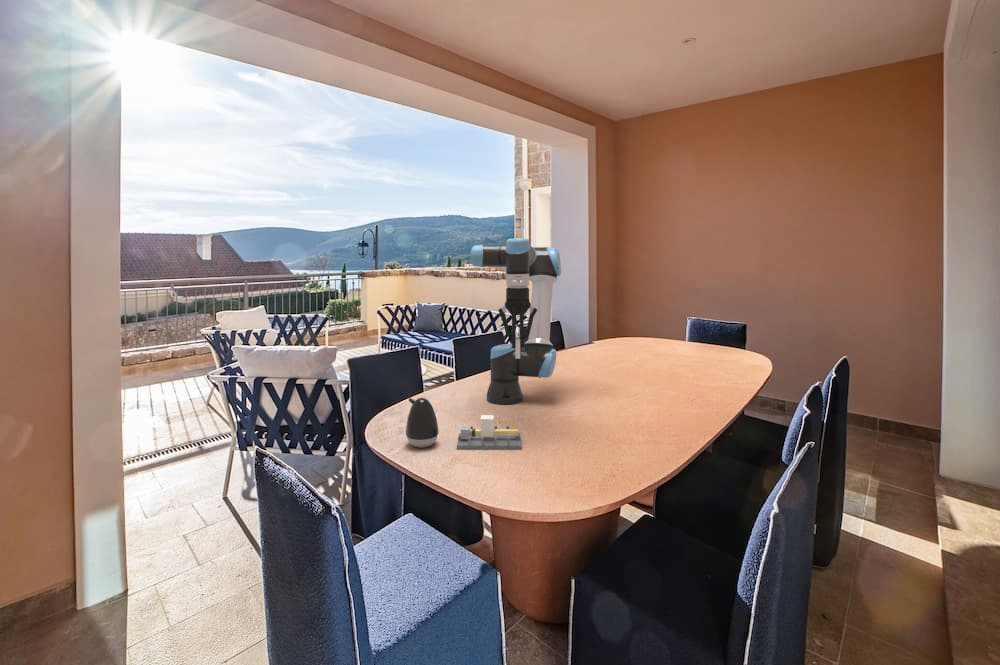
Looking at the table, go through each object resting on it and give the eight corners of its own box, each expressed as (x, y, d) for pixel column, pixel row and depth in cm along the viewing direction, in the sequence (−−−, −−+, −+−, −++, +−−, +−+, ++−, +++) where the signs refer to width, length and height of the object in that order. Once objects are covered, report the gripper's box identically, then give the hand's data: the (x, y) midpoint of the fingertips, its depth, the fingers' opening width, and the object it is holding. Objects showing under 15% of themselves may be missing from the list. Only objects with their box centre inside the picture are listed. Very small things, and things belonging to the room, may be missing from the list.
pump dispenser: (421, 436, 161) (420, 391, 159) (445, 443, 155) (444, 396, 153) (398, 446, 153) (397, 399, 150) (423, 453, 147) (422, 404, 145)
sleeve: (480, 436, 153) (480, 419, 152) (481, 432, 157) (481, 415, 156) (493, 436, 153) (493, 419, 152) (493, 432, 157) (493, 415, 156)
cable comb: (456, 449, 150) (456, 434, 149) (459, 436, 161) (459, 422, 160) (521, 449, 150) (521, 434, 149) (520, 436, 161) (520, 422, 160)
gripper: (497, 288, 154) (498, 360, 158) (538, 287, 154) (538, 360, 158) (497, 286, 162) (498, 355, 166) (536, 285, 162) (536, 355, 166)
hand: (517, 357), depth 162 cm, fingers closed
